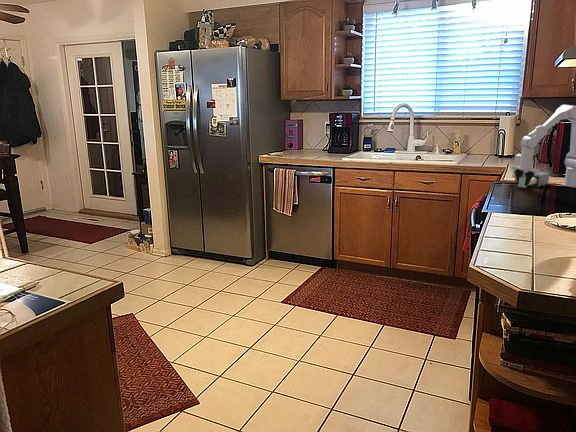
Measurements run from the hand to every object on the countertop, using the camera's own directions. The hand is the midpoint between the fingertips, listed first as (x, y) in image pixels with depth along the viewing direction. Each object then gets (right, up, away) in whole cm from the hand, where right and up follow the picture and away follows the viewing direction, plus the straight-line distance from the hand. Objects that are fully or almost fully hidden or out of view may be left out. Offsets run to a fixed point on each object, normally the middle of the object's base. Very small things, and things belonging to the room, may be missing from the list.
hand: (522, 184), depth 254 cm
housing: (+10, +2, +11) cm, 15 cm away
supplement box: (+12, +7, +27) cm, 30 cm away
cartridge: (+4, 0, +3) cm, 5 cm away
